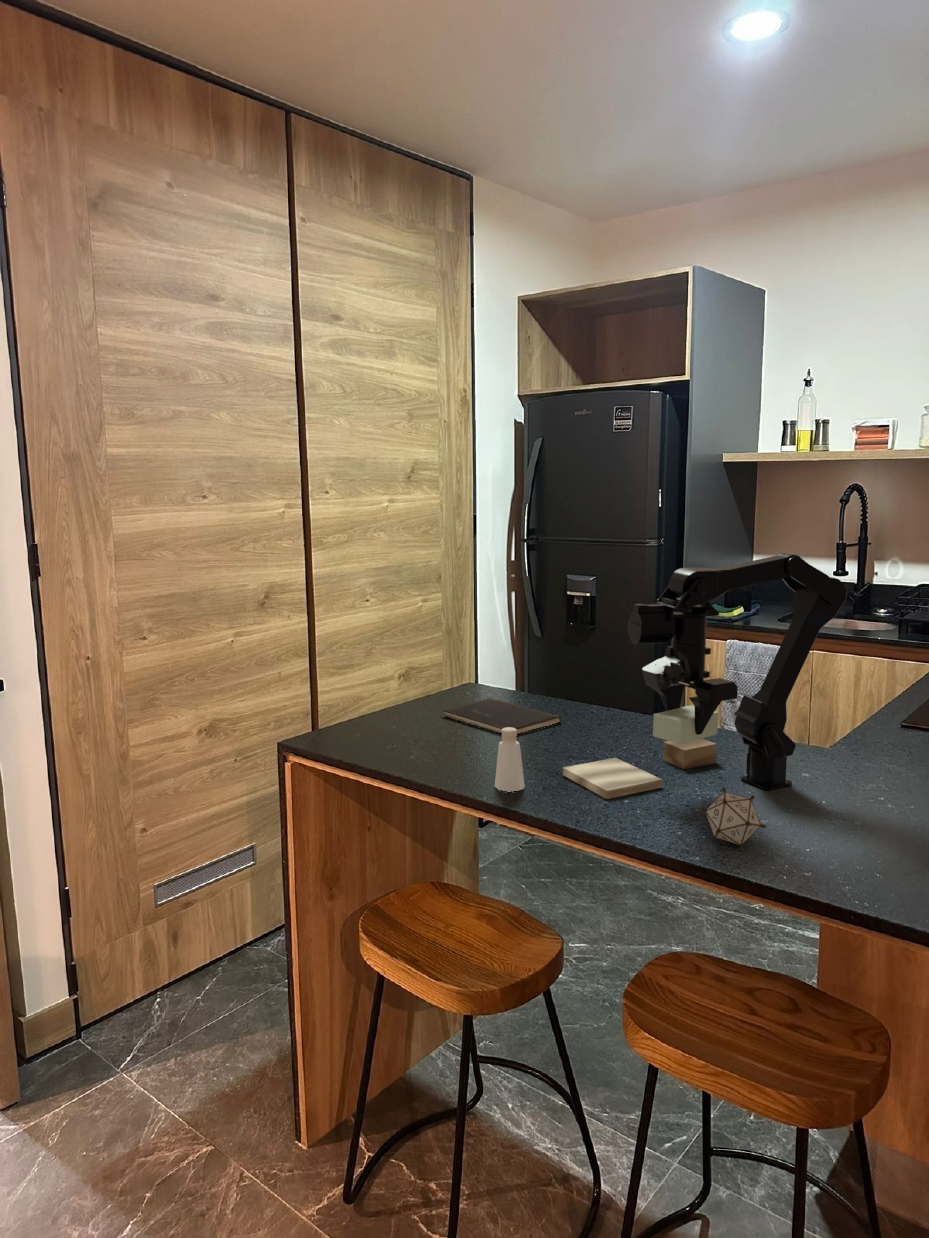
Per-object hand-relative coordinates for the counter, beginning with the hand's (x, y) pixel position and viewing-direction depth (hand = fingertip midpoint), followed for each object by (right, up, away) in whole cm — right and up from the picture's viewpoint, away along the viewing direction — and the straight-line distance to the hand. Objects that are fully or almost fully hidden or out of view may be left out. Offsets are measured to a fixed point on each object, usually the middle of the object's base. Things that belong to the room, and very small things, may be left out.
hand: (685, 729), depth 153 cm
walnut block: (+5, -9, +18) cm, 21 cm away
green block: (0, -1, 0) cm, 1 cm away
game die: (+2, -15, -20) cm, 25 cm away
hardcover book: (-30, -5, +49) cm, 58 cm away
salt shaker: (-31, -11, +5) cm, 33 cm away
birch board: (-12, -10, +7) cm, 17 cm away
